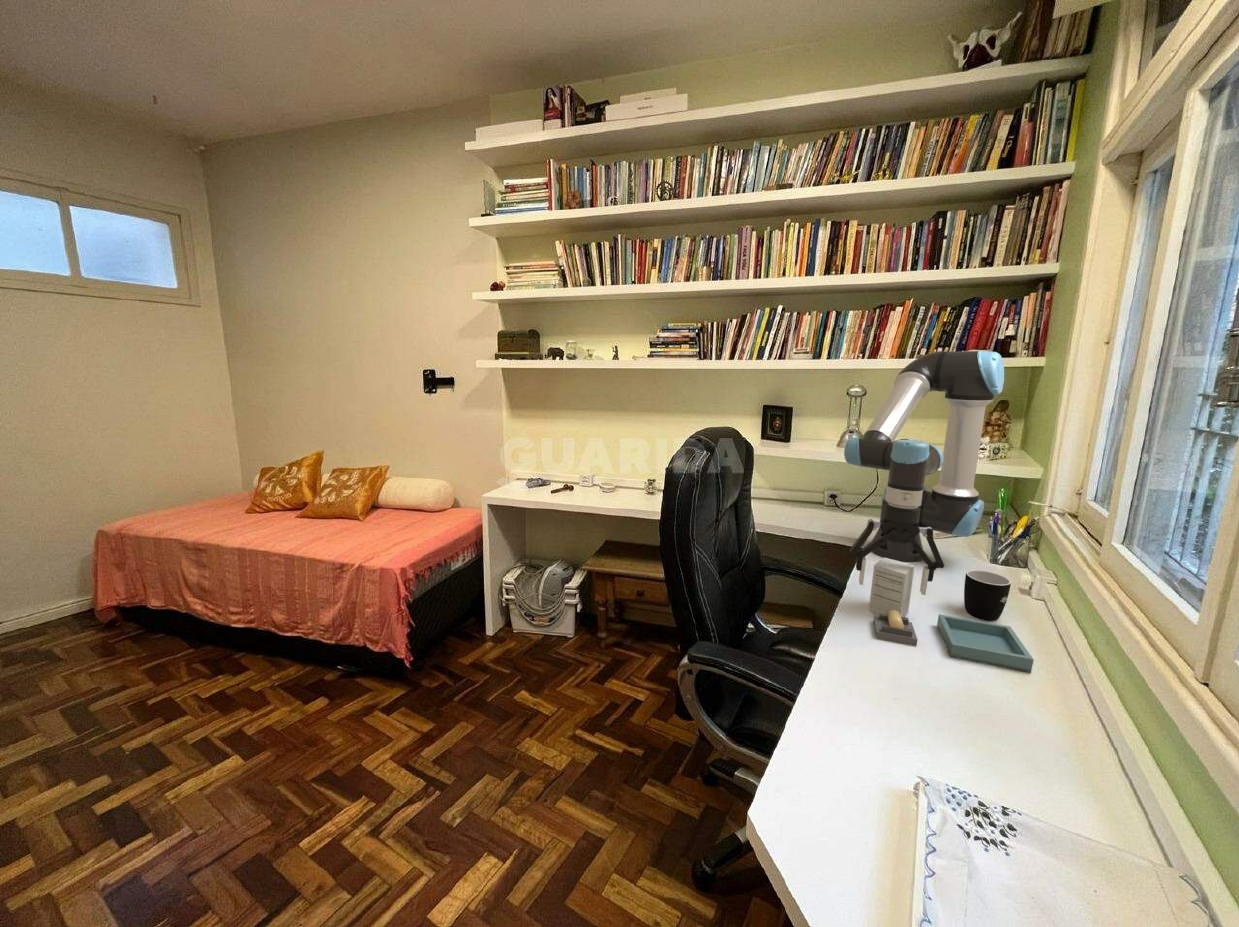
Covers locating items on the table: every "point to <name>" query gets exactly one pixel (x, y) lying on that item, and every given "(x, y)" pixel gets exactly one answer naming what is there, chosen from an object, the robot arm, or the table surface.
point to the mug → (985, 594)
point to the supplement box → (891, 587)
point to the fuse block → (894, 628)
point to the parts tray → (984, 643)
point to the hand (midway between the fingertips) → (891, 587)
